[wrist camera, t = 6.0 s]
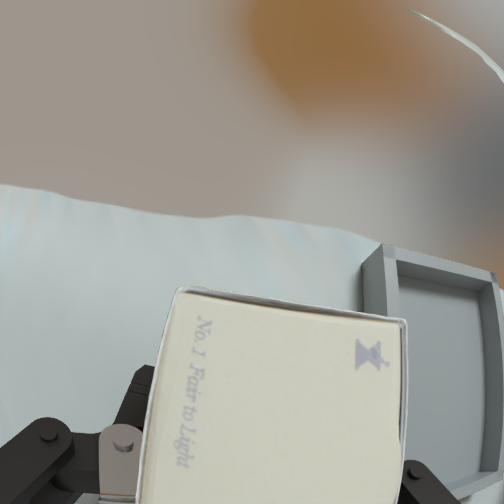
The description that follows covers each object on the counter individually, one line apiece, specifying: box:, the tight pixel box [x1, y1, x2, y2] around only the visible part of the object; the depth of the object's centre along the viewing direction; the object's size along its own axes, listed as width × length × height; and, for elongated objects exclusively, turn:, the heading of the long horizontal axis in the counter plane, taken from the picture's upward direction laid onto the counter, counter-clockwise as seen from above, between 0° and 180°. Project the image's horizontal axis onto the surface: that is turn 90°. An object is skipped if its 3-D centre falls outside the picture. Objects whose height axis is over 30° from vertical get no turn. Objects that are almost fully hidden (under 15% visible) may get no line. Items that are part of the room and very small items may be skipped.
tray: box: [362, 243, 504, 500], centre depth 17 cm, size 13×18×3 cm
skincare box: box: [135, 285, 409, 504], centre depth 9 cm, size 6×4×12 cm
